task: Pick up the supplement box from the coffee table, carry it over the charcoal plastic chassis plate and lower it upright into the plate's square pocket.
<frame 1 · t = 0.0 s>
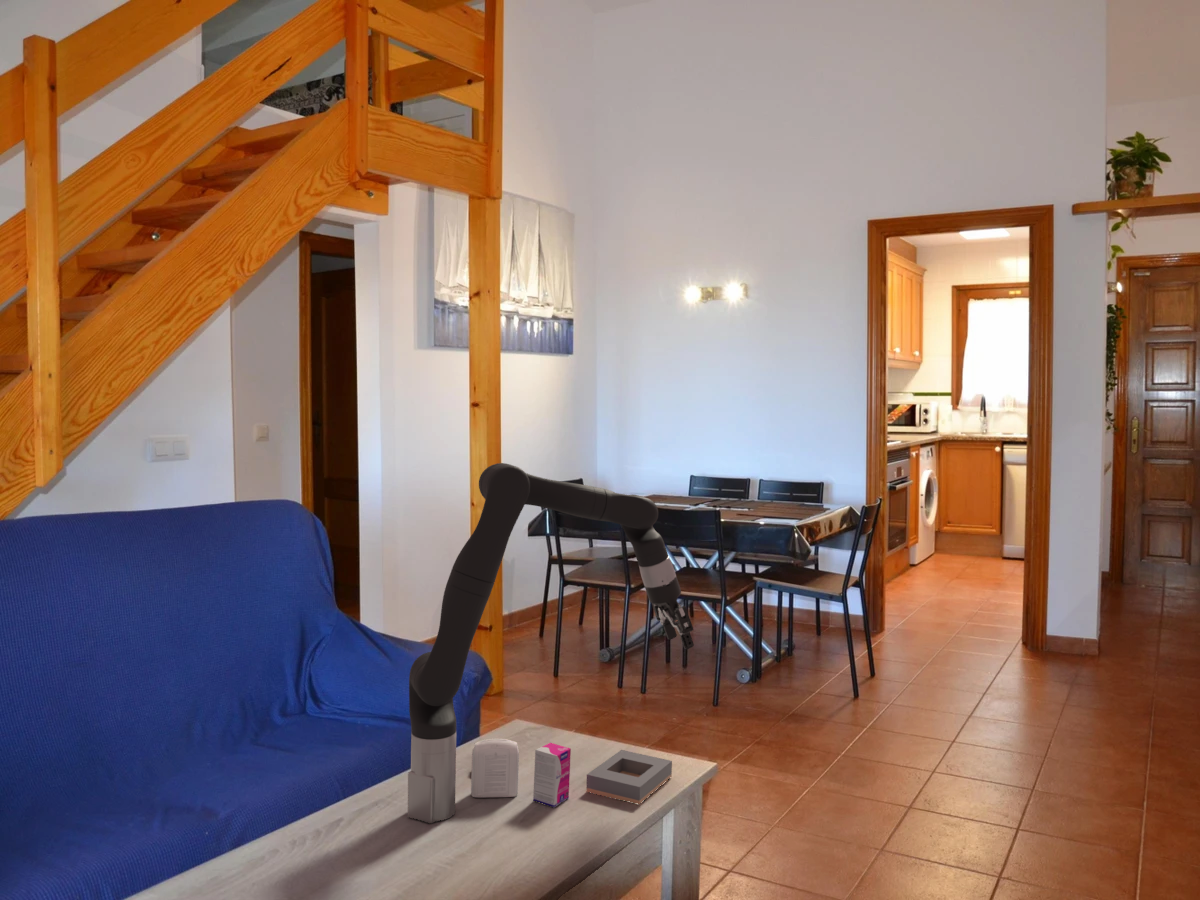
hand: (680, 642, 222), 31 cm above the table, tool tilted 20°, fingers open, 8 cm apart
race car: (488, 769, 228), on the table
supplement box: (551, 801, 210), on the table
chassis plate: (629, 784, 219), on the table
photo printer: (494, 795, 212), on the table
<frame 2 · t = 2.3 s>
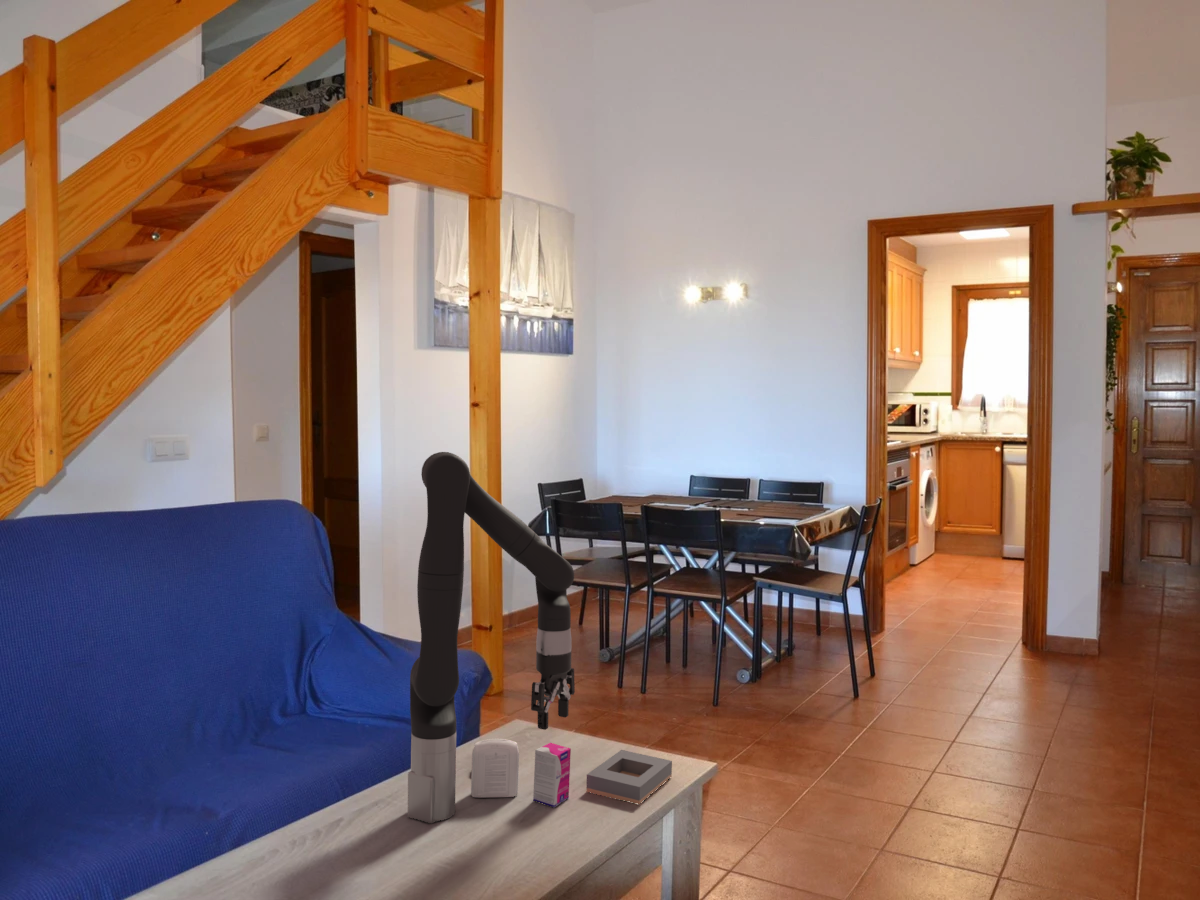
hand: (553, 722, 209), 17 cm above the table, tool pointing down, fingers open, 8 cm apart
nothing on the table moved.
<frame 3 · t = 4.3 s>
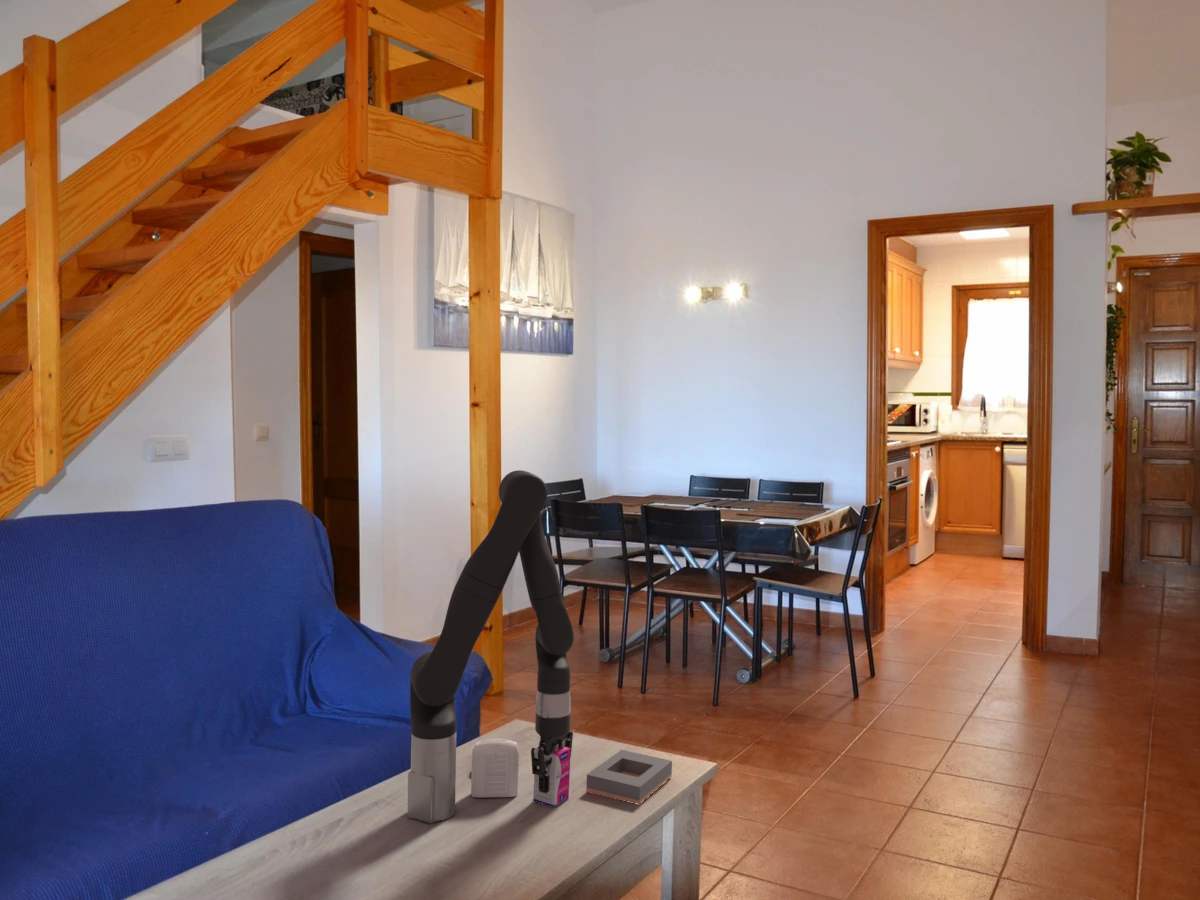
hand: (551, 786, 210), 3 cm above the table, tool pointing down, fingers closed on supplement box, 6 cm apart
supplement box: (551, 801, 210), on the table, touching gripper
everything else where it was.
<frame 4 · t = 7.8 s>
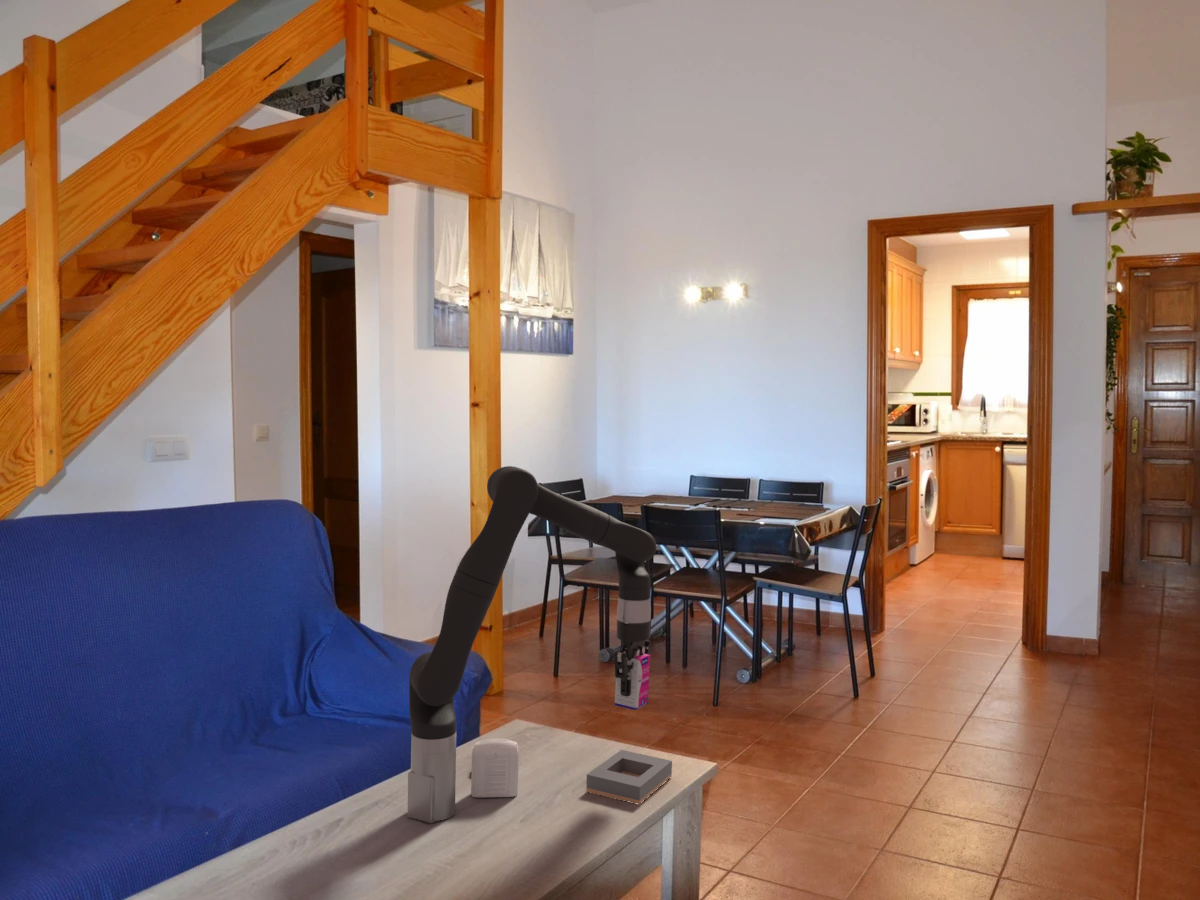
hand: (631, 691, 218), 22 cm above the table, tool pointing down, fingers closed on supplement box, 6 cm apart
supplement box: (631, 705, 218), point 18 cm above the table, touching gripper
everything else where it was.
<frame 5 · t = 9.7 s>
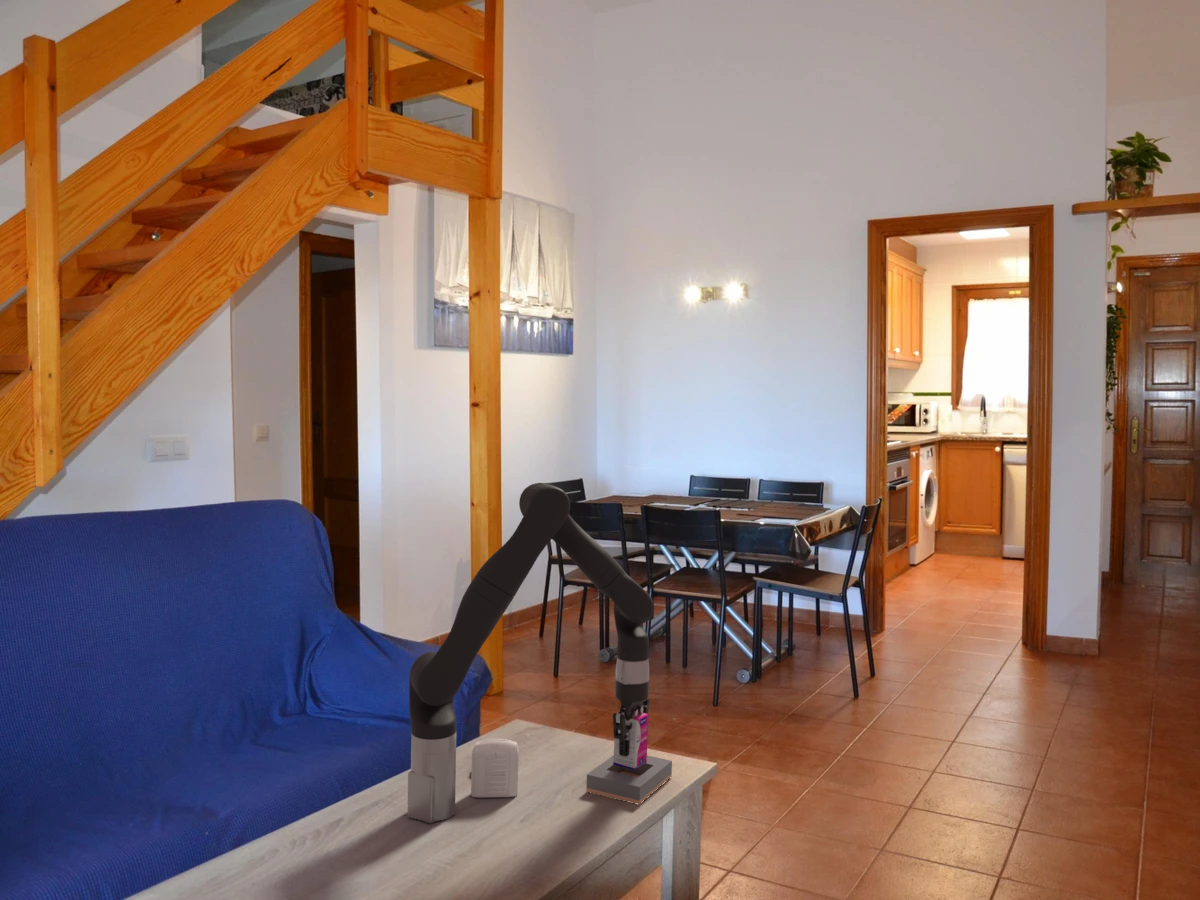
hand: (630, 750, 219), 8 cm above the table, tool pointing down, fingers closed on supplement box, 6 cm apart
supplement box: (630, 764, 219), point 5 cm above the table, touching gripper
everything else where it was.
when the fingers open (5 cm above the table, at t = 11.2 s): supplement box stays where it is, resting on chassis plate.
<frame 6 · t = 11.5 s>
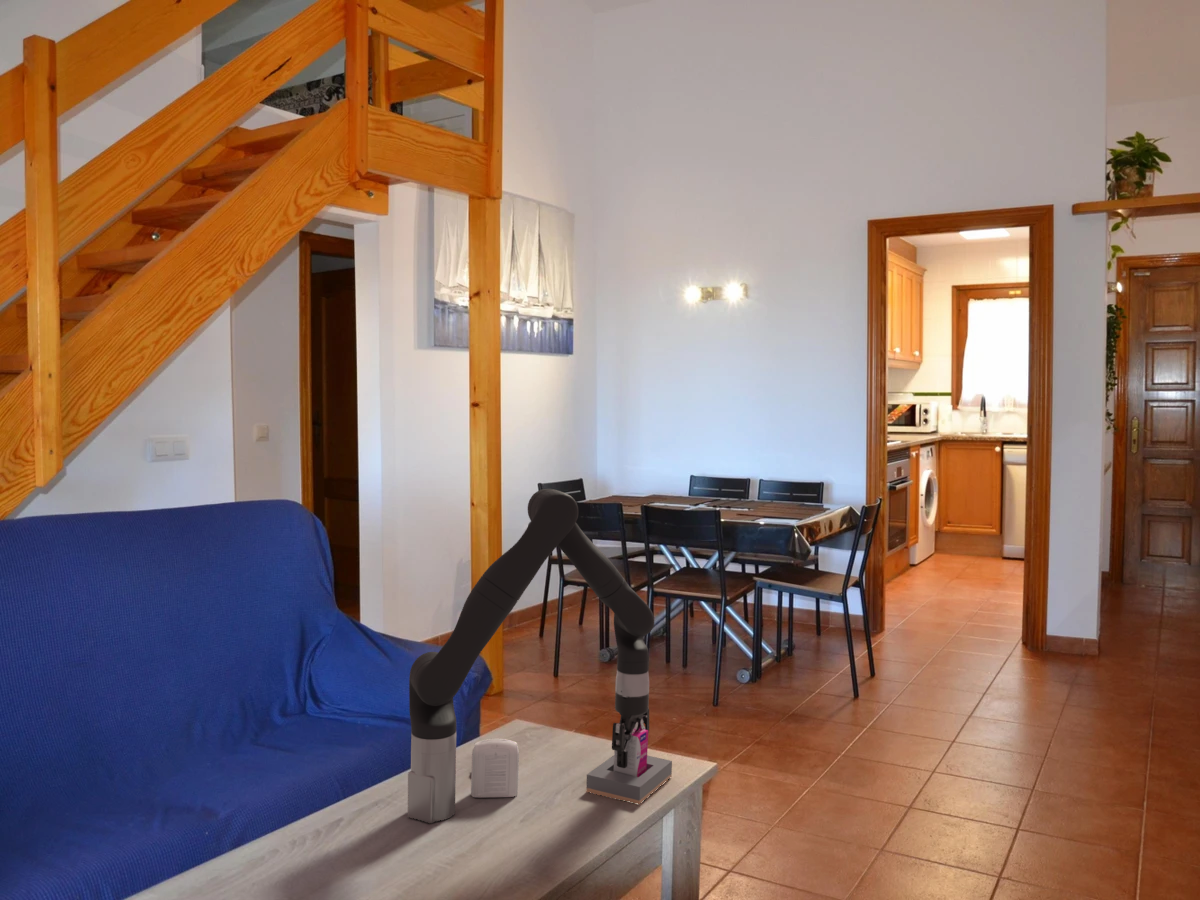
hand: (630, 760, 219), 6 cm above the table, tool pointing down, fingers open, 8 cm apart
supplement box: (630, 780, 219), point 1 cm above the table, touching chassis plate
everything else where it was.
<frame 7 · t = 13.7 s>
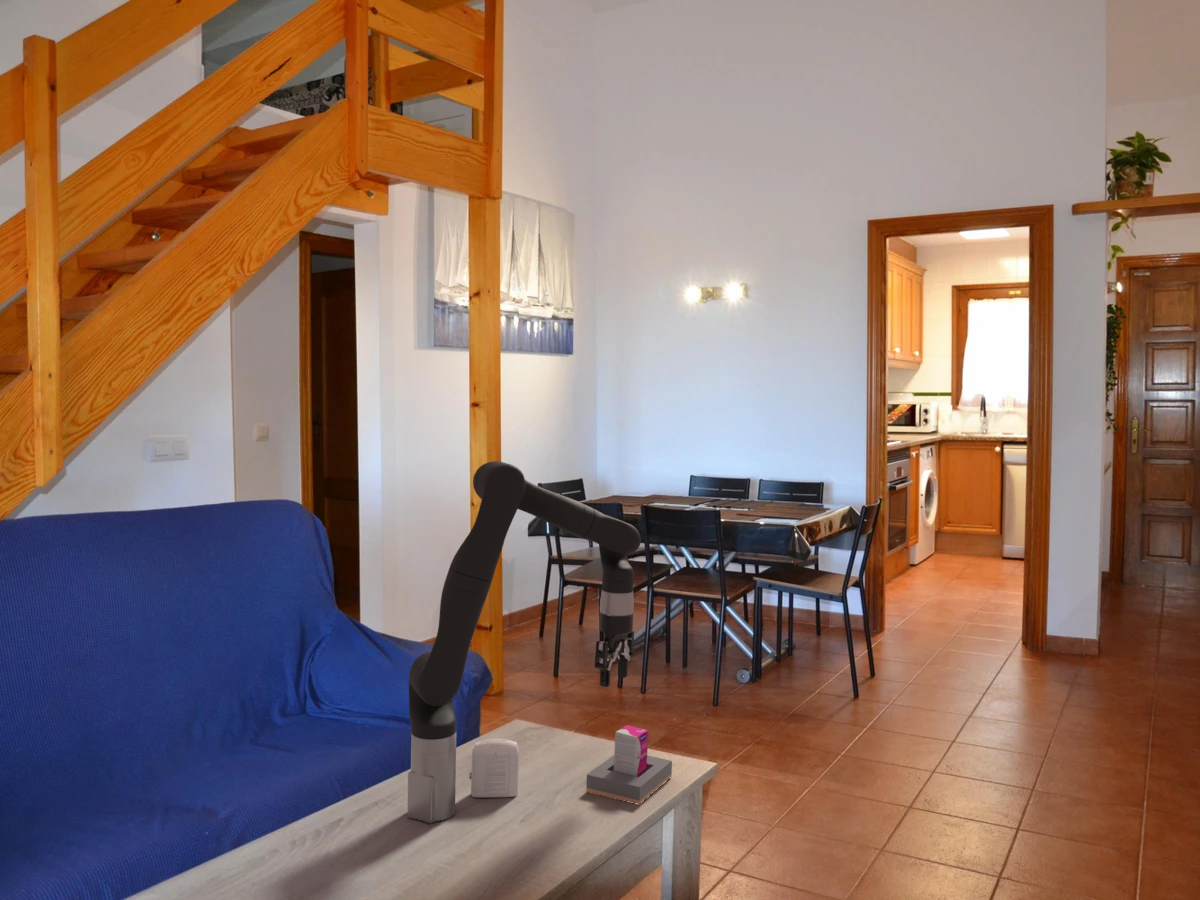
hand: (613, 681, 219), 23 cm above the table, tool pointing down, fingers open, 8 cm apart
nothing on the table moved.
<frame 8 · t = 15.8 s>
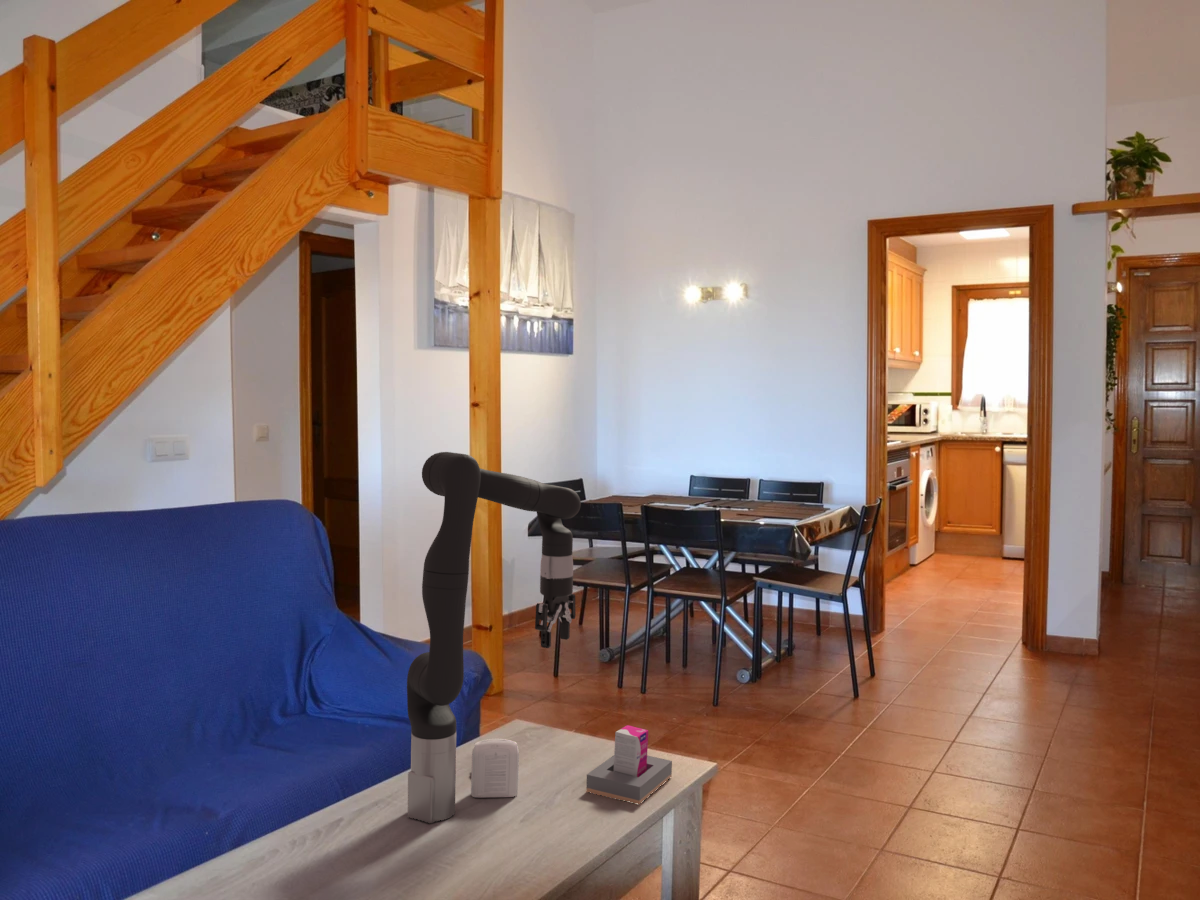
hand: (555, 643, 224), 30 cm above the table, tool pointing down, fingers open, 8 cm apart
nothing on the table moved.
at the end: supplement box 0.2 cm off-centre on the chassis plate, point 0.8 cm above the chassis plate's base; supplement box tilted 0°; the gripper is holding nothing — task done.
